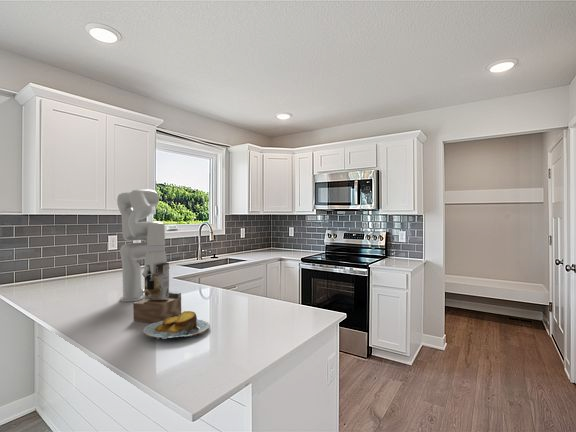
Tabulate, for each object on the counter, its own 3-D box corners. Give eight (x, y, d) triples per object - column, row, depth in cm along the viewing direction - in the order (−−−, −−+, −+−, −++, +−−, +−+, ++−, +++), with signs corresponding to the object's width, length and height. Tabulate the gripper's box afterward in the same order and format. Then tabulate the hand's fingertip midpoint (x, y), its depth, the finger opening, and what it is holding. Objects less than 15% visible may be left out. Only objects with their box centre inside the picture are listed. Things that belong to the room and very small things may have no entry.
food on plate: (136, 331, 128) (136, 315, 128) (195, 318, 144) (195, 303, 144) (153, 352, 108) (153, 333, 108) (219, 334, 124) (219, 317, 124)
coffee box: (143, 299, 141) (143, 264, 141) (151, 296, 148) (150, 262, 147) (163, 300, 140) (162, 264, 140) (169, 296, 147) (169, 262, 146)
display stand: (157, 311, 154) (157, 290, 154) (181, 313, 149) (181, 292, 149) (133, 321, 139) (133, 298, 139) (159, 324, 135) (158, 301, 135)
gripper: (162, 246, 153) (163, 282, 153) (134, 251, 137) (135, 291, 137) (175, 247, 151) (176, 283, 151) (148, 251, 134) (149, 292, 134)
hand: (156, 287), depth 144 cm, fingers closed on coffee box, 7 cm apart
